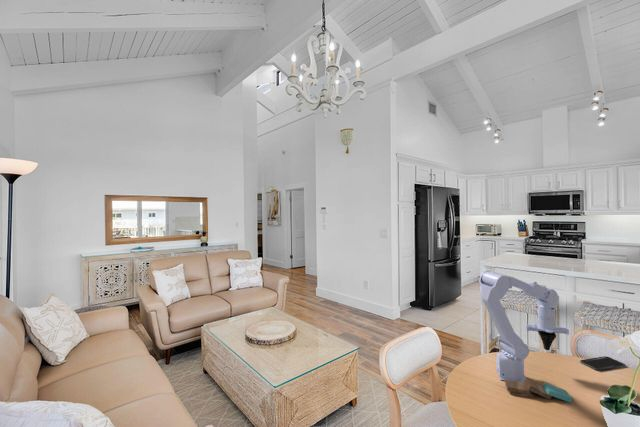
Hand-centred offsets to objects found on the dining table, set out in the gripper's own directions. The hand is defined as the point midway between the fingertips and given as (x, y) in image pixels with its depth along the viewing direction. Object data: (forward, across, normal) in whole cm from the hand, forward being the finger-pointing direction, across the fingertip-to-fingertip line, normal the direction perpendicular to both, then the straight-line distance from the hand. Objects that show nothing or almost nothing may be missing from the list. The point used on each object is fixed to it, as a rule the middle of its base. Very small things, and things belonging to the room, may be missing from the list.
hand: (546, 349), depth 124 cm
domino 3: (+9, -6, -18) cm, 21 cm away
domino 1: (+8, -12, -18) cm, 23 cm away
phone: (+10, +24, +12) cm, 29 cm away
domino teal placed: (+9, +1, -18) cm, 20 cm away
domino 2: (+9, -11, -18) cm, 23 cm away
